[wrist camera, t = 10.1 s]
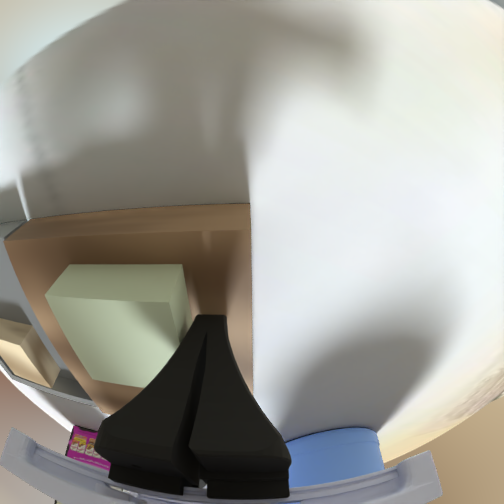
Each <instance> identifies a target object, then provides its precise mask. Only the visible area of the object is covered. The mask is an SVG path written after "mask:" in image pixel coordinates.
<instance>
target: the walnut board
mask: <svg viewBox="0 0 504 504" xmlns="http://www.w3.org/2000/svg"><path fill="white" fill-rule="evenodd" d="M3 242H4V245H5V248H6V251H7V253H8V256H9V259H10V261H11V264H12V266H13V269H14V271H15V274H16V276H17V278H18V280H19V283H20V285H21V287H22V289H23V291H24V293H25V296H26V298H27V300H28V302H29V304H30V306H31V308H32V310H33V311H34V313H35V315H36V317H37V319H38V321H39V322H40V324H41V326H42V328H43V330H44V331H45V333H46V335H47V336H48V338H49V340H50V341H51V343H52V344H53V346H54V348H55V349H56V351H57V352H58V354H59V355H60V357H61V358H62V360H63V361H64V363H65V364H66V366H67V367H68V369H69V370H70V371H71V373H72V374H73V376H74V377H75V378H76V380H77V381H78V382H79V384H80V385H81V386H82V388H83V389H84V390H85V391H86V393H87V394H88V395H89V396H90V398H91V399H92V400H93V401H94V403H95V404H96V405H97V406H98V407H99V408H100V410H101V411H102V412H103V413H106V414H110V415H112V414H113V413H115V412H116V411H118V410H119V409H121V408H122V407H123V406H125V405H126V404H127V403H128V402H129V401H131V400H132V399H133V398H134V397H135V396H136V395H138V394H139V393H140V392H141V391H142V390H143V389H144V388H142V387H134V386H127V385H121V384H115V383H109V382H104V381H99V380H94V379H92V378H91V376H90V375H89V373H88V372H87V370H86V369H85V367H84V366H83V364H82V363H81V361H80V359H79V358H78V356H77V355H76V353H75V351H74V350H73V348H72V346H71V345H70V343H69V341H68V340H67V338H66V336H65V334H64V333H63V331H62V329H61V327H60V325H59V323H58V322H57V320H56V318H55V316H54V314H53V312H52V310H51V308H50V306H49V304H48V302H47V299H46V297H45V294H46V293H47V291H48V290H49V289H50V287H51V286H52V285H53V284H54V283H55V281H56V280H57V279H58V278H59V276H60V275H61V274H62V273H63V272H64V270H65V269H66V268H67V267H68V266H69V265H70V264H182V266H183V272H184V278H185V284H186V289H187V295H188V300H189V306H190V311H191V316H192V321H194V319H195V317H196V316H197V315H198V314H210V315H225V316H227V325H228V336H229V341H230V345H231V348H232V351H233V354H234V357H235V360H236V362H237V365H238V367H239V370H240V372H241V374H242V376H243V378H244V380H245V382H246V384H247V386H248V388H249V390H250V392H251V394H252V395H253V354H252V272H251V218H250V203H248V204H210V205H185V206H166V207H149V208H135V209H122V210H110V211H98V212H88V213H78V214H69V215H60V216H52V217H44V218H36V219H30V220H29V221H28V222H27V223H25V224H24V225H23V226H21V227H20V228H19V229H18V230H16V231H15V232H14V233H13V234H11V235H10V236H9V237H8V238H6V239H5V240H4V241H3Z"/></svg>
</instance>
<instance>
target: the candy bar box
mask: <svg viewBox="0 0 504 504" xmlns="http://www.w3.org/2000/svg"><path fill="white" fill-rule="evenodd" d="M97 433H98V432H96V431H92V430H88V429H85V428H81V427H78V426H73V429H72V432H71V436H70V439H69V443H68V446H67V450H66V454H65V456H67V457H69V458H72V459H74V460H77V461H80V462H83V463H85V464H88V465H91V466H94V467H97V468H100V469H104V470H107V471H109V470H110V465H111V463H110V462H109V461H107V460H106V459H104V458H103V457H102V456H100V455H99V454H98V453H97V452H96V451H95V450H94V444H95V440H96V437H97ZM110 487H111V488H113V489H116V490H119V491H122V492H125V493H130V492H131V491H127V490H123V489H120V488H116V487H113V486H110ZM55 504H62V503H61V502H59V501H57V500H55Z"/></svg>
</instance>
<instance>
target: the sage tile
mask: <svg viewBox="0 0 504 504" xmlns="http://www.w3.org/2000/svg"><path fill="white" fill-rule="evenodd" d="M45 297H46V299H47V302H48V304H49V306H50V308H51V310H52V312H53V314H54V316H55V318H56V320H57V322H58V323H59V325H60V327H61V329H62V331H63V333H64V334H65V336H66V338H67V340H68V341H69V343H70V345H71V346H72V348H73V350H74V351H75V353H76V355H77V356H78V358H79V359H80V361H81V363H82V364H83V366H84V367H85V369H86V370H87V372H88V373H89V375H90V376H91V378H92V379H94V380H99V381H104V382H109V383H115V384H121V385H127V386H134V387H142V388H145V387H146V386H147V385H148V384H149V383H150V382H151V381H152V380H153V379H154V378H155V376H156V375H157V374H158V373H159V372H160V371H161V370H162V368H163V367H164V366H165V365H166V363H167V362H168V360H169V359H170V358H171V356H172V355H173V354H174V352H175V351H176V349H177V348H178V346H179V345H180V343H181V342H182V340H183V338H184V337H185V335H186V333H187V332H188V330H189V328H190V326H191V325H192V323H193V321H192V316H191V311H190V306H189V300H188V295H187V289H186V284H185V278H184V272H183V266H182V264H70V265H69V266H68V267H67V268H66V269H65V270H64V272H63V273H62V274H61V275H60V276H59V278H58V279H57V280H56V281H55V283H54V284H53V285H52V286H51V287H50V289H49V290H48V291H47V293H46V294H45Z"/></svg>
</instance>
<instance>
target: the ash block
mask: <svg viewBox="0 0 504 504" xmlns="http://www.w3.org/2000/svg"><path fill="white" fill-rule="evenodd" d="M0 356H1V357H2V358H3V360H4V361H5V362H6V364H7V365H8V366H9V368H10V369H11V370H12V371H13V373H14V374H15V375H17V376H19V377H22V378H24V379H27V380H30V381H32V382H35V383H38V384H41V385H44V386H46V387H49V388H52V387H53V385H54V383H55V380H56V378H57V376H58V374H59V372H60V370H61V369H60V368H59V366H58V365H57V363H56V362H55V360H54V359H53V357H52V356H51V354H50V353H49V351H48V350H47V348H46V347H45V345H44V344H43V342H42V340H41V339H40V337H39V335H38V334H37V332H36V330H35V329H34V327H33V326H32V325H27V324H23V323H18V322H14V321H10V320H6V319H2V318H0Z"/></svg>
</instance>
